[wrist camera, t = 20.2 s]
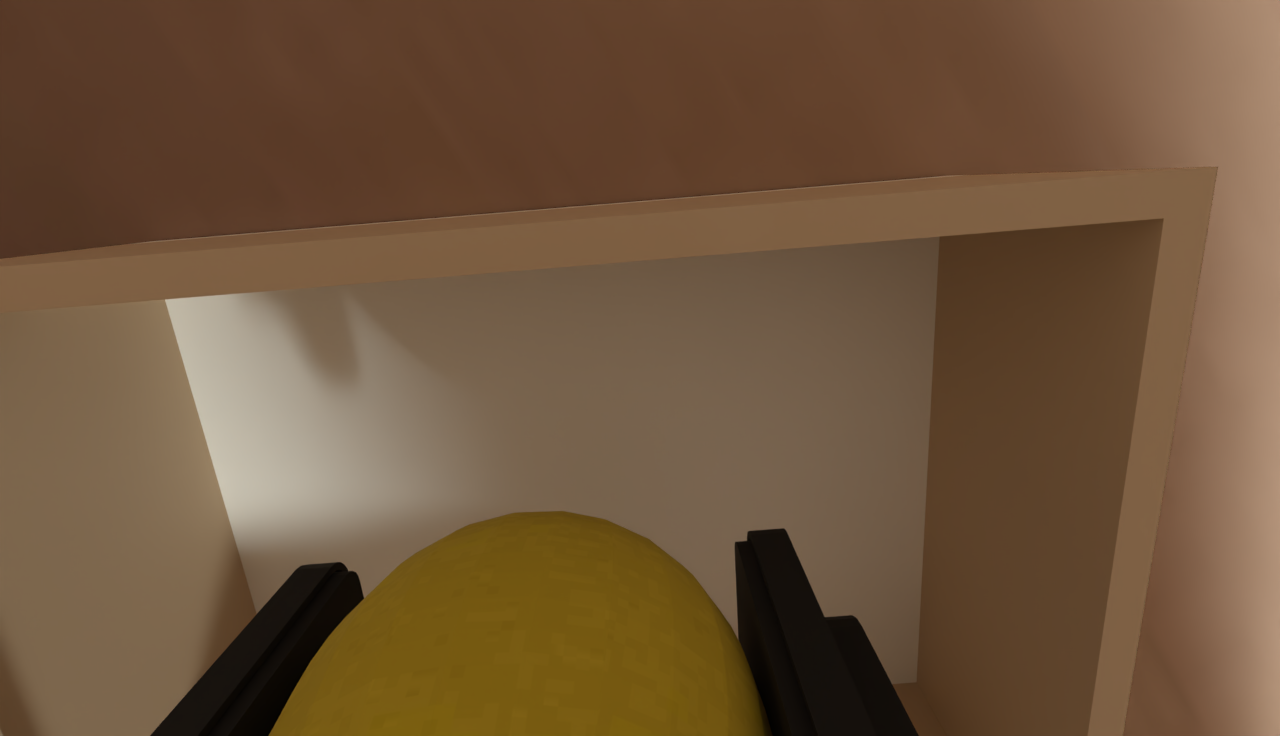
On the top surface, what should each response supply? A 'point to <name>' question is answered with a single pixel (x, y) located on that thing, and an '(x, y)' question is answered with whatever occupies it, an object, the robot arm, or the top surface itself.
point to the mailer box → (616, 423)
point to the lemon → (531, 643)
